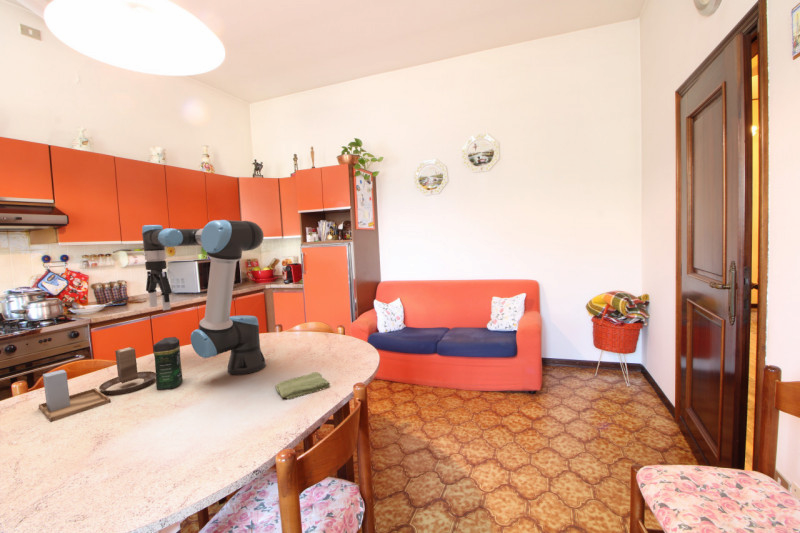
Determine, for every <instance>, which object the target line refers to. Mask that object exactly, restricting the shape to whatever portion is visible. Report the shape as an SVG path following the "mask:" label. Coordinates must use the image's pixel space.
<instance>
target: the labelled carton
mask: <svg viewBox="0 0 800 533" xmlns="http://www.w3.org/2000/svg"><path fill="white" fill-rule="evenodd" d="M114 352H115V361H116V371H117V377H118V381H120V383H122V384H125V383H127V382H128V383H129V382H132V381H135V380H139V379H138V372H139V371H138V365H137V364H138V363H137V357H136V356H137V355H136V349H135V348H134V347H130V346H129V347H126V348H121V349H116V350H115V351H114Z"/></svg>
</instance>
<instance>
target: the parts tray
mask: <svg viewBox="0 0 800 533" xmlns="http://www.w3.org/2000/svg"><path fill="white" fill-rule="evenodd" d="M69 398H70V406H67V407H64V408H61V409H58V410H54V411H51V412H50V411H49V410H48V409H47V404H46V402H44V403H39V404H38V408H39V410H40V411H41V412H42V413H43V414H44V415H45V417H46V418H47V419H48V420H49V422H51V423H53V422H56V421H59V420H61V419H64V418H68V417H70V416H74V415H77V414H81V413H83V412H86V411H90V410H92V409H96V408H99V407H100V406H105V405H108V404H110V403H111V404H112V401H111V397H108V396H107V395H105V393H104V392H102V391H101V390H99V389H97V388H91V389H88V390H84V391H81V392H77V393H74V394H71V395H70V394H69Z"/></svg>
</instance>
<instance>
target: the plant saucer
mask: <svg viewBox="0 0 800 533" xmlns="http://www.w3.org/2000/svg"><path fill="white" fill-rule="evenodd" d="M137 372H138V379H137V380H139V379H140V380H143V382H141V383H140V384H136V385H133V386H132V385H131V386H128V387H124V388H120V389H112V390H111V389H109V388H111V387H112V386H115V385H116V384H120V383H121V382H120V381H118V376H117V377H113V378H110V379H108V380H106V381H104V382H103V383H101V384H100V385H99V386H98V390H99V391H100V392H101V393H103V394H106V395H121V394H126V393H132V392H134V391H138V390H140V389H143V388H146V387H148V386H149V385H151V384H152V382H154V380H155V379H156V371H155V372H154V371H148V370H147V371H137ZM107 389H109V390H107Z"/></svg>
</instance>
